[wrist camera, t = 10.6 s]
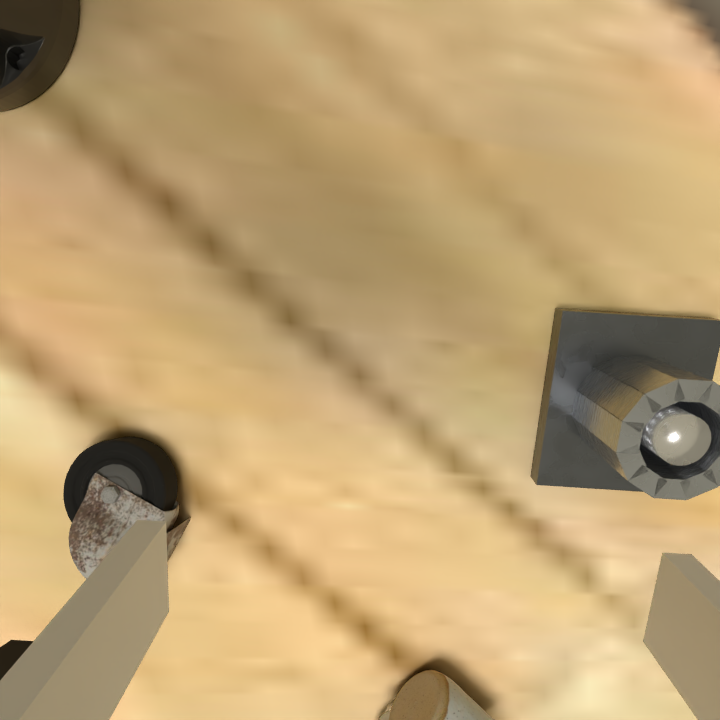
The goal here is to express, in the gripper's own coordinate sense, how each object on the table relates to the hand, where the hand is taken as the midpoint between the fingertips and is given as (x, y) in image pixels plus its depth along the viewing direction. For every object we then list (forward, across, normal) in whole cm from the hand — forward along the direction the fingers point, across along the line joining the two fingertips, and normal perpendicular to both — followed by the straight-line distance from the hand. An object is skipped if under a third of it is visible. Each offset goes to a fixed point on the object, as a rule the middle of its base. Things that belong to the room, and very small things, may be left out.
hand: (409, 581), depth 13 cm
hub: (+25, +19, -2) cm, 31 cm away
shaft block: (+27, +19, -2) cm, 33 cm away
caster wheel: (+27, -20, -13) cm, 36 cm away
